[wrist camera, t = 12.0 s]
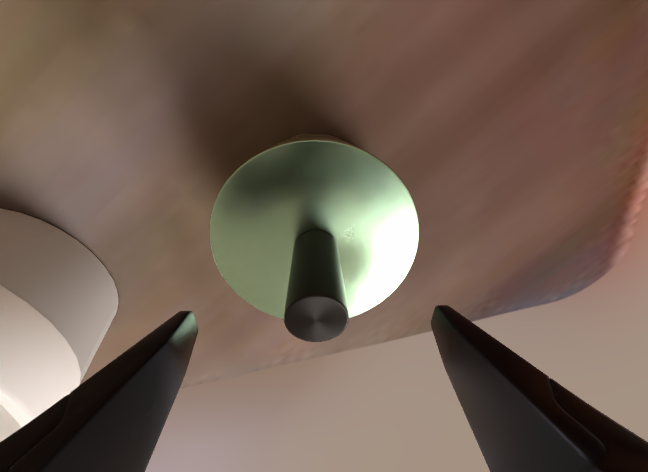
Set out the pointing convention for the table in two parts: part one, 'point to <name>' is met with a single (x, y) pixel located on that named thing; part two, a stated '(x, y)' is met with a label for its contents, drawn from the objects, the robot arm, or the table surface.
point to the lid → (314, 234)
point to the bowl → (46, 316)
